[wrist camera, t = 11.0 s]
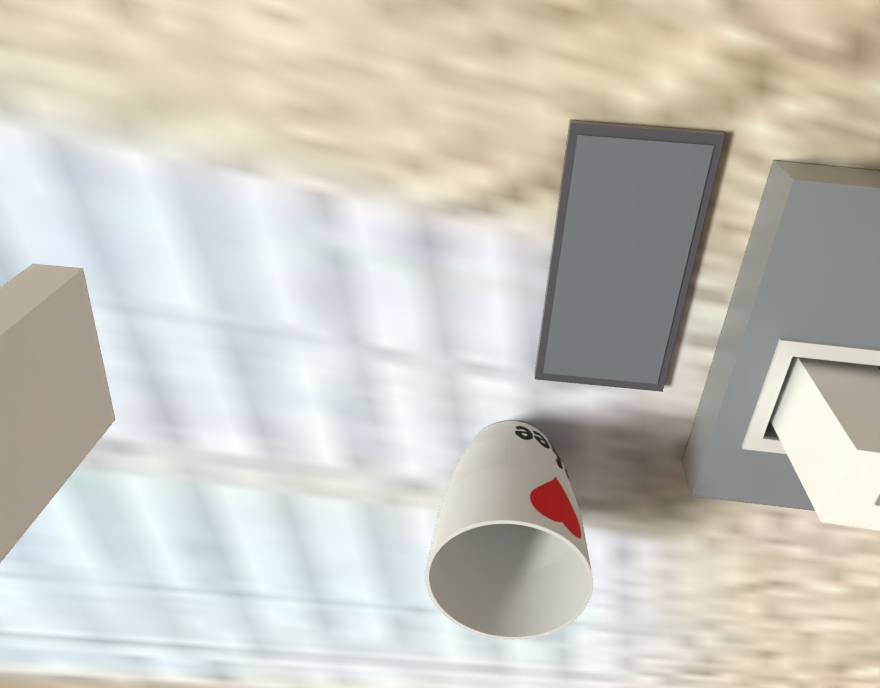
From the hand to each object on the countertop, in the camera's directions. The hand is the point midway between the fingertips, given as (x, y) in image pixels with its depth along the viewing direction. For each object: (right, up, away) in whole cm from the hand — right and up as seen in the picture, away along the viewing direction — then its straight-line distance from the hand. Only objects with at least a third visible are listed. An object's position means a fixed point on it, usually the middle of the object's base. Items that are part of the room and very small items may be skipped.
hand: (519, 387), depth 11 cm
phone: (+8, +5, +27) cm, 29 cm away
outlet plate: (+20, +1, +28) cm, 34 cm away
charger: (+19, -1, +29) cm, 34 cm away
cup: (+3, -6, +34) cm, 34 cm away
